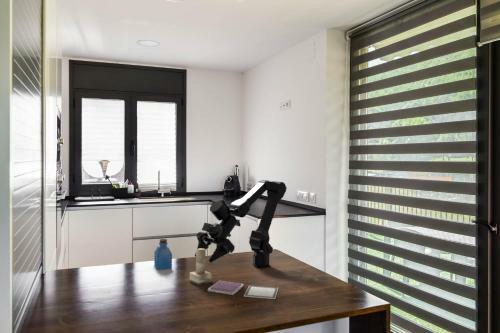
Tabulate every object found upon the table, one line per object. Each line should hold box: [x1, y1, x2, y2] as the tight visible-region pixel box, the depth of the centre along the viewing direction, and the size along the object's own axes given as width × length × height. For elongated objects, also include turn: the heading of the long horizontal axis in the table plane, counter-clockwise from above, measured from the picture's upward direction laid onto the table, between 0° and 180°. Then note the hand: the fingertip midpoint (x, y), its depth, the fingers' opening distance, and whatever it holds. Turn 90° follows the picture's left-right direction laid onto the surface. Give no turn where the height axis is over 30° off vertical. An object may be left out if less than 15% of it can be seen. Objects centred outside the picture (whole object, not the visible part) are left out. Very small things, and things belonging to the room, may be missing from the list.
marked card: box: [243, 285, 279, 300], centre depth 139 cm, size 11×11×1 cm
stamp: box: [189, 248, 212, 286], centre depth 149 cm, size 6×6×12 cm
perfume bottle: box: [153, 238, 173, 271], centre depth 167 cm, size 6×6×12 cm
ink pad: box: [207, 280, 245, 296], centre depth 142 cm, size 10×10×1 cm
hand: (202, 259), depth 150 cm, fingers open, 9 cm apart
